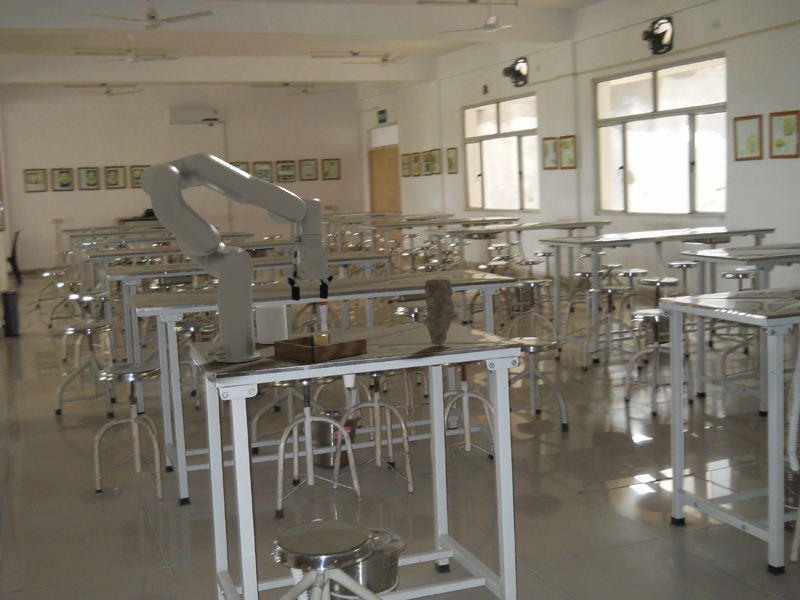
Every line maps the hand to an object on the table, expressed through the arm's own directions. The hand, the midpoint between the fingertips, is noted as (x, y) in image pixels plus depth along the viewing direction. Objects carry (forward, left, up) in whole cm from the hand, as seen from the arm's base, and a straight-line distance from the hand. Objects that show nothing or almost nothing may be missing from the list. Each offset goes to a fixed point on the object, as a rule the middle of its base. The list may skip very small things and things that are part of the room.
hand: (310, 299), depth 239 cm
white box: (0, +23, -15) cm, 27 cm away
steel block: (-1, -5, -15) cm, 16 cm away
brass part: (-5, -11, -15) cm, 19 cm away
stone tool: (+27, -26, -15) cm, 41 cm away
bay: (-3, -9, -15) cm, 17 cm away
